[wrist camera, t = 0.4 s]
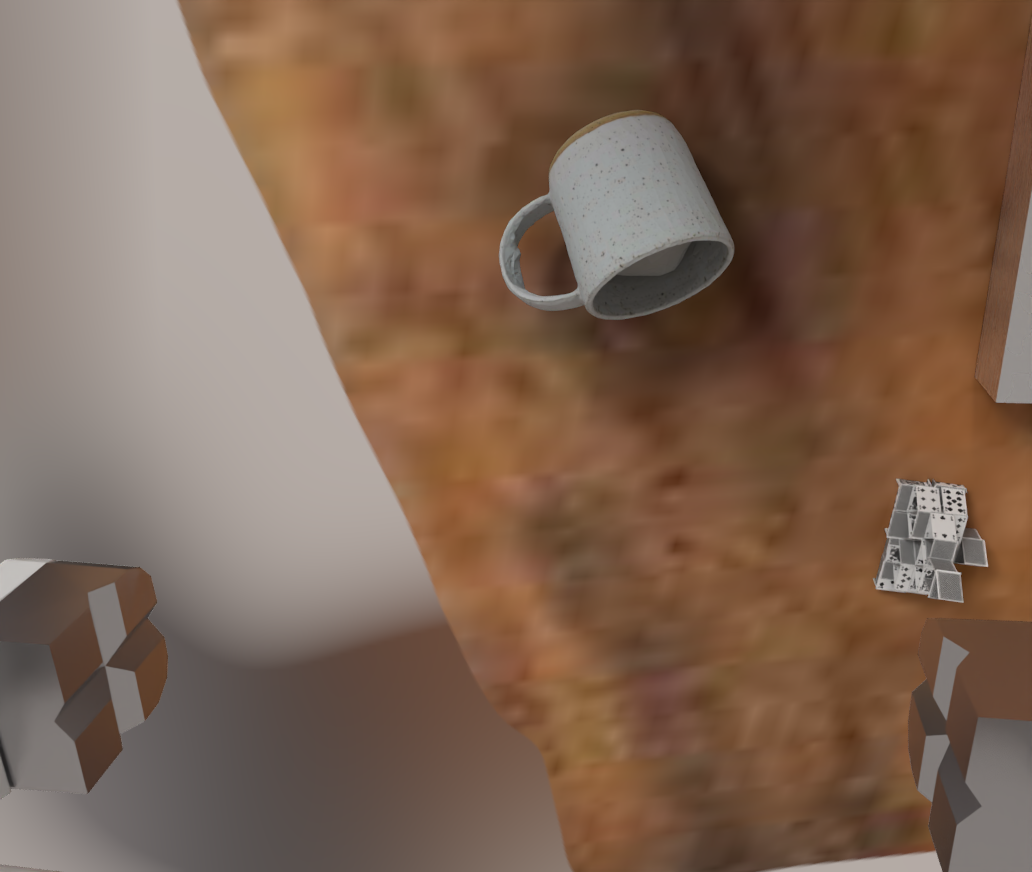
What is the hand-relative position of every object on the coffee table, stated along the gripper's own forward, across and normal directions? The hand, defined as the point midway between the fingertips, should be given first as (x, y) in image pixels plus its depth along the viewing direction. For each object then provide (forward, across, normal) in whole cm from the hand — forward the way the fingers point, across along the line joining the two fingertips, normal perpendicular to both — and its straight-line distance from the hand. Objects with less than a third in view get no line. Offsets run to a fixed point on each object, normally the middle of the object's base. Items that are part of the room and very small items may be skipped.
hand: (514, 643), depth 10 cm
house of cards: (+46, -18, +23) cm, 55 cm away
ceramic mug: (+45, +2, +3) cm, 46 cm away
